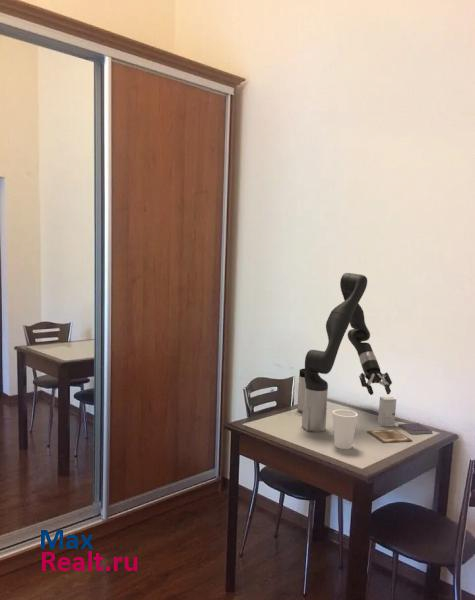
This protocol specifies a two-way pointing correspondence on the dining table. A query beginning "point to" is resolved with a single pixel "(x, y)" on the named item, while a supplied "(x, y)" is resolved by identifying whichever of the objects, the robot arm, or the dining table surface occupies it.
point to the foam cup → (344, 427)
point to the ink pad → (415, 428)
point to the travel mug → (301, 390)
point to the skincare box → (387, 411)
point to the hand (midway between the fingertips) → (380, 393)
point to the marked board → (389, 436)
